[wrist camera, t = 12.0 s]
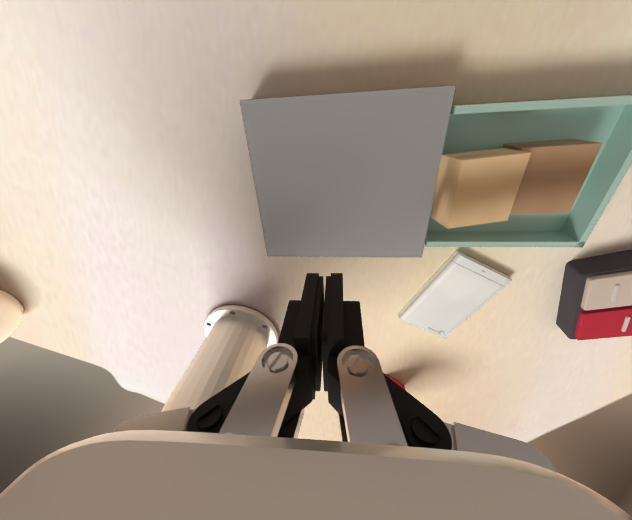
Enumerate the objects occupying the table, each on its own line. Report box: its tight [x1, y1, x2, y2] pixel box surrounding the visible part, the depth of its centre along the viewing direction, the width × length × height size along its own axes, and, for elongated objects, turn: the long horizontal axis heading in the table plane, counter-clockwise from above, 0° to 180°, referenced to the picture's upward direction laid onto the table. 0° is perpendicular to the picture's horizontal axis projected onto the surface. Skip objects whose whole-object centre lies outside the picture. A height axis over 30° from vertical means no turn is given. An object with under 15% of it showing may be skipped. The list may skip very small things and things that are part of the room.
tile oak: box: [431, 148, 531, 229], centre depth 23 cm, size 6×6×3 cm
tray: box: [425, 95, 632, 247], centre depth 24 cm, size 13×15×3 cm
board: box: [240, 85, 456, 257], centre depth 26 cm, size 16×18×3 cm
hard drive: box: [398, 250, 512, 338], centre depth 34 cm, size 2×8×12 cm
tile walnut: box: [502, 139, 603, 215], centre depth 23 cm, size 6×6×3 cm
